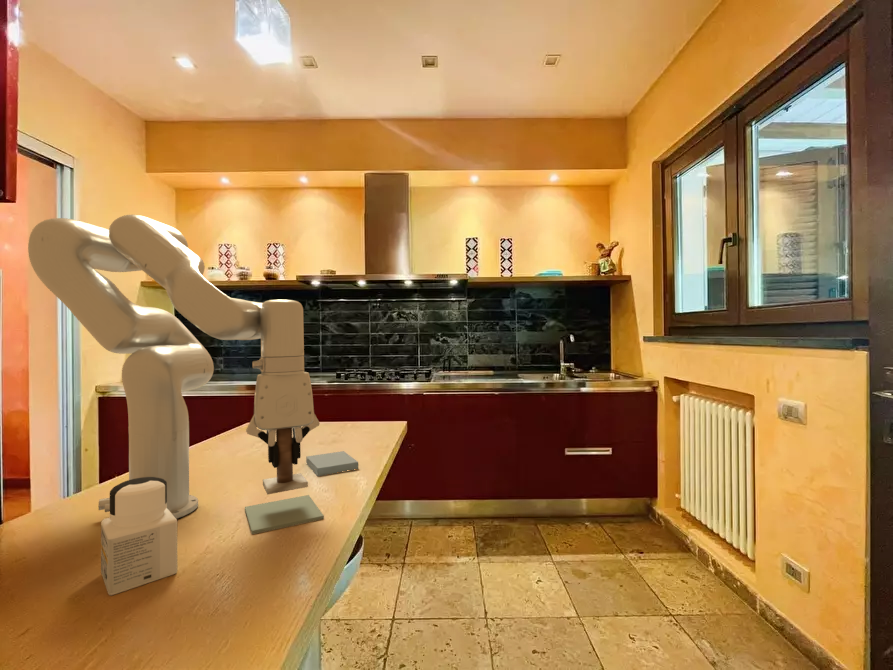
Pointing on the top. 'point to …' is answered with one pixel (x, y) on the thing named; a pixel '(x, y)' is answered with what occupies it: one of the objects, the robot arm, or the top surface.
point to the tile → (331, 463)
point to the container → (138, 535)
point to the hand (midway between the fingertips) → (284, 463)
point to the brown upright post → (284, 466)
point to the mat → (282, 514)
